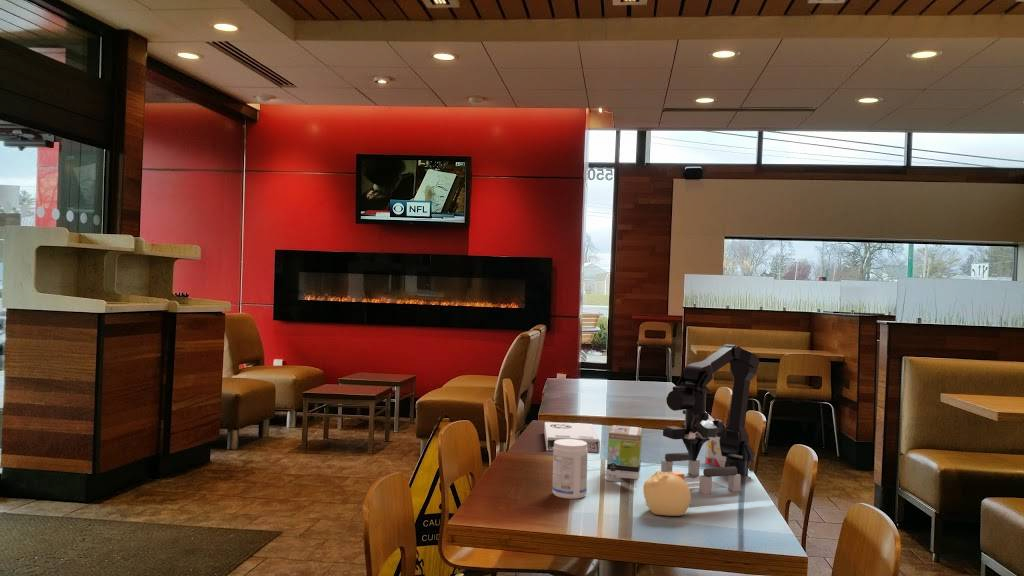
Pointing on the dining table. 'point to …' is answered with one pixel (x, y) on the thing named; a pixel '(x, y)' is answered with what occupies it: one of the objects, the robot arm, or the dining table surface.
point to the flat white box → (571, 434)
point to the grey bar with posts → (731, 472)
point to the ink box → (714, 452)
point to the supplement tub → (570, 468)
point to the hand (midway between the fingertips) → (693, 460)
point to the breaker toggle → (679, 474)
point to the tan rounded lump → (666, 494)
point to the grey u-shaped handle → (667, 463)
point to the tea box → (624, 453)
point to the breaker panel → (694, 483)
